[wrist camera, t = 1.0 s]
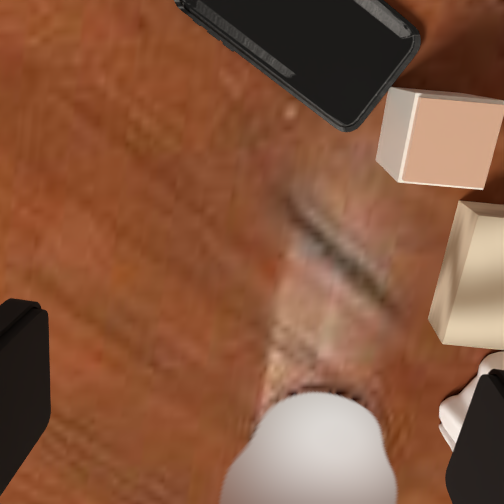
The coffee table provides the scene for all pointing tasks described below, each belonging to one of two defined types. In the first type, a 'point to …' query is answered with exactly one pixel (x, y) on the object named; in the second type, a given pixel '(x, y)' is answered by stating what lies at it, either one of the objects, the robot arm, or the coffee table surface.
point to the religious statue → (464, 401)
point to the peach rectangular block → (439, 137)
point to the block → (472, 279)
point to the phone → (317, 48)
